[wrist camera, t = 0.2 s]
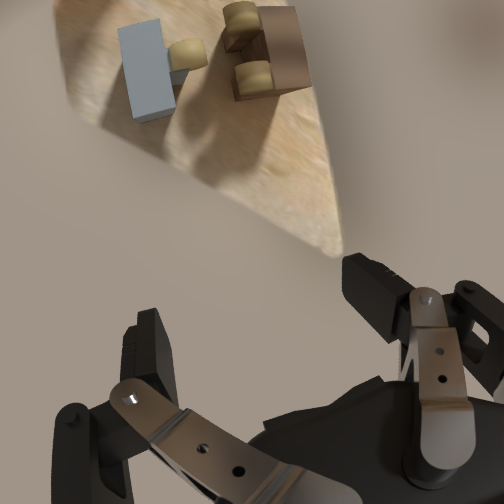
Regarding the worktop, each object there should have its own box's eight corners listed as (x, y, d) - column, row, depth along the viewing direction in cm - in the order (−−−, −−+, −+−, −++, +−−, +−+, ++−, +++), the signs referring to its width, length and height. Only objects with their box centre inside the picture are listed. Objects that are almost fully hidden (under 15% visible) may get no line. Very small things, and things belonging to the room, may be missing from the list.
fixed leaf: (208, 34, 31) (226, 2, 21) (267, 29, 32) (301, 1, 23) (222, 103, 35) (245, 91, 25) (280, 95, 36) (319, 84, 27)
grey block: (126, 52, 29) (115, 22, 19) (188, 38, 30) (199, 5, 21) (139, 123, 33) (131, 117, 23) (202, 107, 34) (217, 96, 25)
